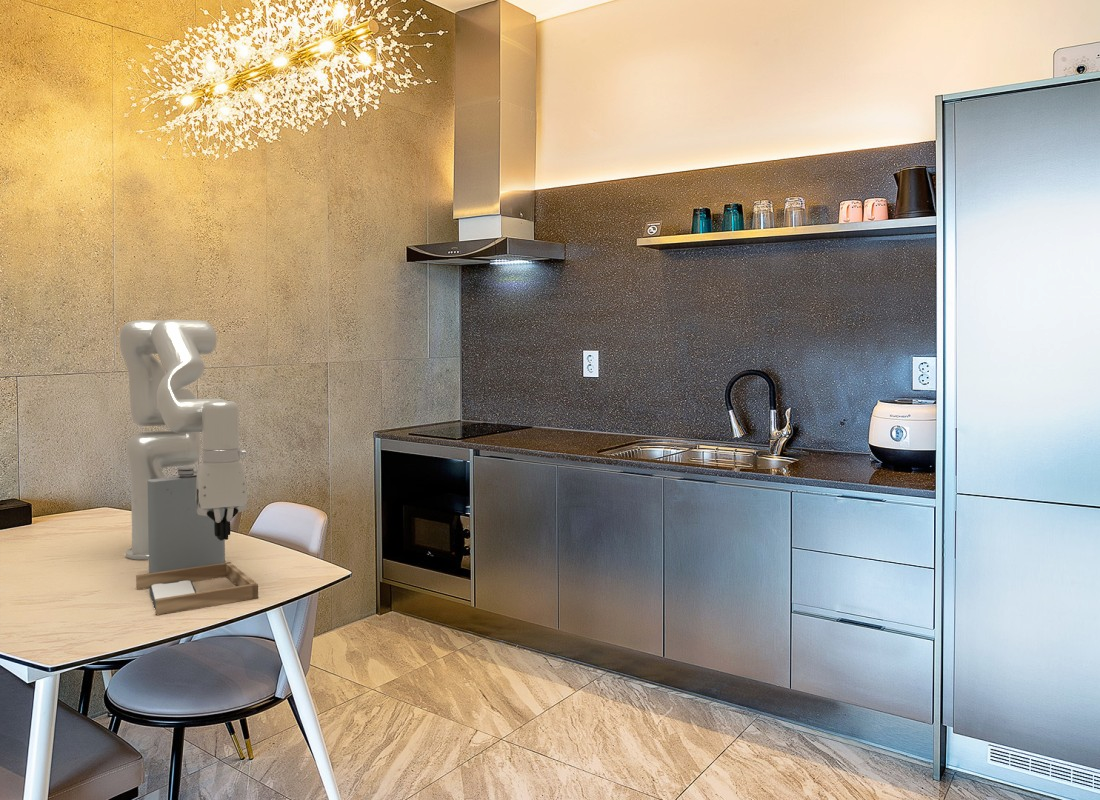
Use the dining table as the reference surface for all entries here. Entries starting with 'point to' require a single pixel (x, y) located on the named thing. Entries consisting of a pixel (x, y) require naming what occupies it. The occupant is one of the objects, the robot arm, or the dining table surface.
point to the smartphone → (171, 589)
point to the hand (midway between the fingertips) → (222, 538)
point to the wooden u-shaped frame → (241, 592)
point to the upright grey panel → (180, 526)
